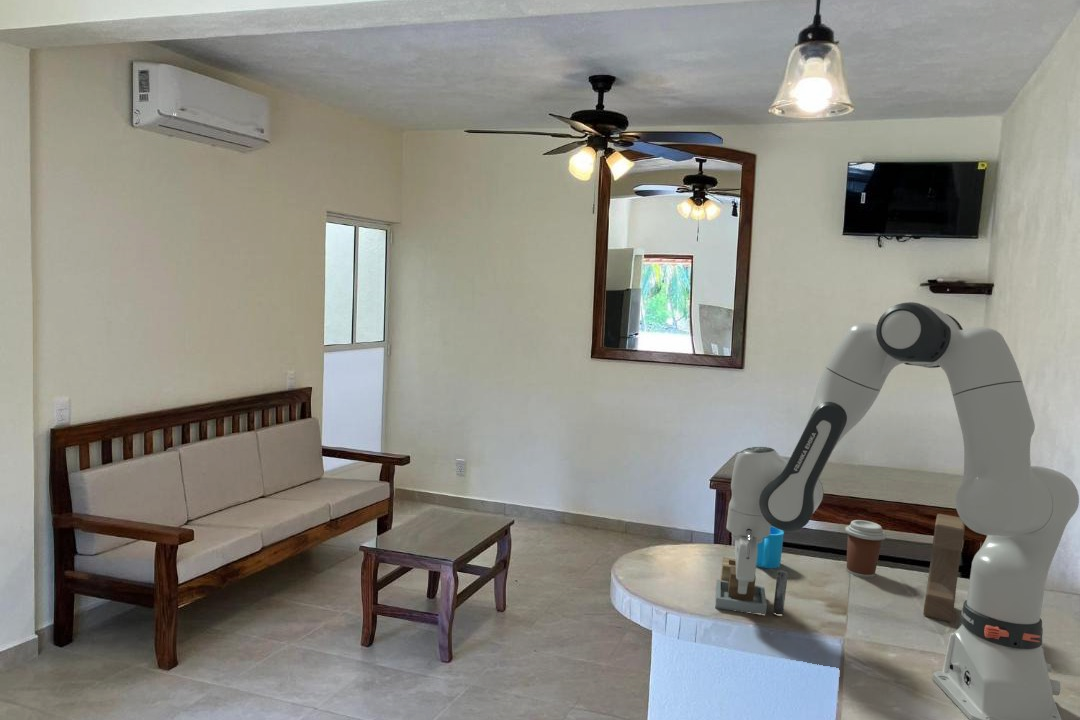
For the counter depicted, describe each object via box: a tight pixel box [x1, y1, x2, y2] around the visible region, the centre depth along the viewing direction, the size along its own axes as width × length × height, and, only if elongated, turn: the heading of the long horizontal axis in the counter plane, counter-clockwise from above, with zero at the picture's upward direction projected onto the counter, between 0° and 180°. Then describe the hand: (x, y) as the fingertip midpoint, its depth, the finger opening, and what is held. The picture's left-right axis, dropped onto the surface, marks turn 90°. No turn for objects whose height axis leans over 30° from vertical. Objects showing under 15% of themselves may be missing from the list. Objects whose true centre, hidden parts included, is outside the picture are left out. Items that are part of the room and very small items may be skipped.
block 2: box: [728, 566, 757, 601], centre depth 173 cm, size 5×5×5 cm
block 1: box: [720, 556, 736, 581], centre depth 183 cm, size 6×6×5 cm
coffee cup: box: [844, 519, 887, 578], centre depth 198 cm, size 9×9×12 cm
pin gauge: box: [772, 569, 789, 615], centre depth 167 cm, size 2×2×9 cm
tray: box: [714, 579, 768, 615], centre depth 173 cm, size 11×10×2 cm
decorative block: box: [922, 513, 966, 623], centre depth 176 cm, size 11×6×20 cm, turn 151°
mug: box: [756, 525, 785, 569], centre depth 198 cm, size 12×8×8 cm
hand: (741, 587), depth 173 cm, fingers closed on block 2, 5 cm apart
